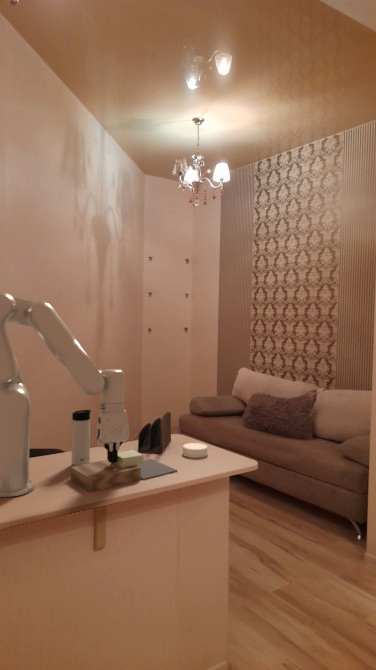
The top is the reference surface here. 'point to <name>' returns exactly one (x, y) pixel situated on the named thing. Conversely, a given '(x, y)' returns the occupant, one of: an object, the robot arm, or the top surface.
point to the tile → (129, 458)
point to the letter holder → (155, 435)
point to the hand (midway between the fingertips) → (112, 461)
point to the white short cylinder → (195, 450)
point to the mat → (154, 469)
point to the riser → (104, 475)
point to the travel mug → (80, 437)
